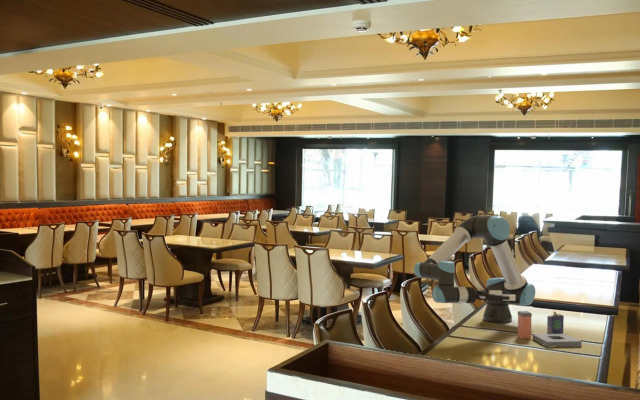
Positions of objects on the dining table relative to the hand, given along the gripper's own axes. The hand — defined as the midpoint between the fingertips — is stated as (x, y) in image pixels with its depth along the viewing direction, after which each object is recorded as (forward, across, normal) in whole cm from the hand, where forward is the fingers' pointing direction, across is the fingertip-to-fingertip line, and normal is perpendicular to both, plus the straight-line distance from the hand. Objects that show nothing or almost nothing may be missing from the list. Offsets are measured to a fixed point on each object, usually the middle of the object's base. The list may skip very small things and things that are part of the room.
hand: (508, 295), depth 265 cm
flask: (+28, -6, -20) cm, 35 cm away
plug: (+9, 0, -20) cm, 22 cm away
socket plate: (+18, +11, -20) cm, 29 cm away
